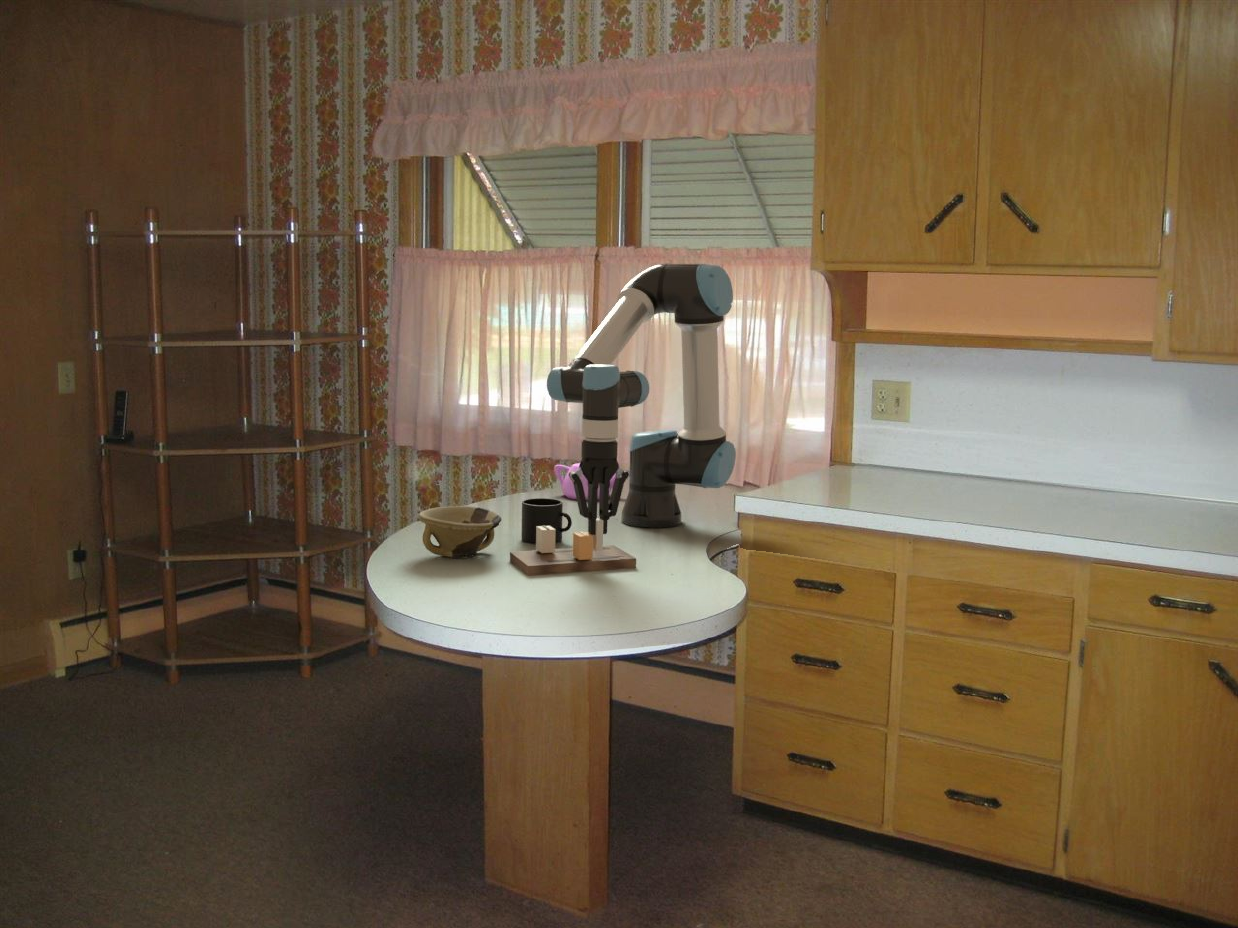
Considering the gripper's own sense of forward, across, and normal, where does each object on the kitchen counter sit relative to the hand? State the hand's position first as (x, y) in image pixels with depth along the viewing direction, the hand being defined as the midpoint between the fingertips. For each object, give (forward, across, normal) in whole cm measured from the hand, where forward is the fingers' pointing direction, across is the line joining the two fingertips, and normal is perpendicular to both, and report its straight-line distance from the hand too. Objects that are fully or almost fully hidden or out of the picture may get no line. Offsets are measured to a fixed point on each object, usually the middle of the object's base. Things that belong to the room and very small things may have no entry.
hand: (597, 549), depth 255 cm
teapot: (+4, -27, -78) cm, 82 cm away
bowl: (+4, +25, -19) cm, 31 cm away
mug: (+4, +2, -28) cm, 28 cm away
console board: (+4, +4, -4) cm, 7 cm away
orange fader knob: (+2, +3, 0) cm, 4 cm away
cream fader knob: (+2, +9, -8) cm, 12 cm away
